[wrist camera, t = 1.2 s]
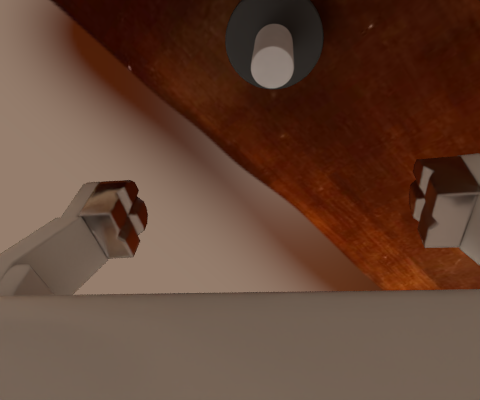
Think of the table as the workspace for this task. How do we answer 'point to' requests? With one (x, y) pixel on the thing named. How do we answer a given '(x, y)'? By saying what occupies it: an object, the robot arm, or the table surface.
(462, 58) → the table surface
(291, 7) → the stopper
